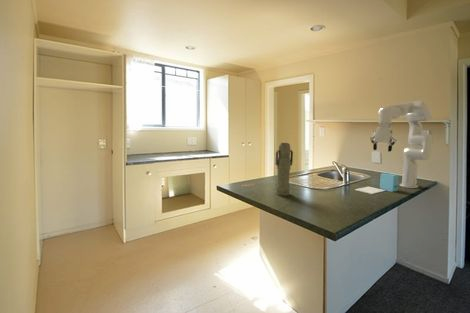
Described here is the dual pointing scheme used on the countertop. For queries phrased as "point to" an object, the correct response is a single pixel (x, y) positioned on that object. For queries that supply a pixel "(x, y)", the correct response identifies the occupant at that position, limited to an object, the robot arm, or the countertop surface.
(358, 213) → the countertop surface
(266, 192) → the countertop surface
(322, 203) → the countertop surface
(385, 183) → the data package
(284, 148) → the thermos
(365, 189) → the mat
